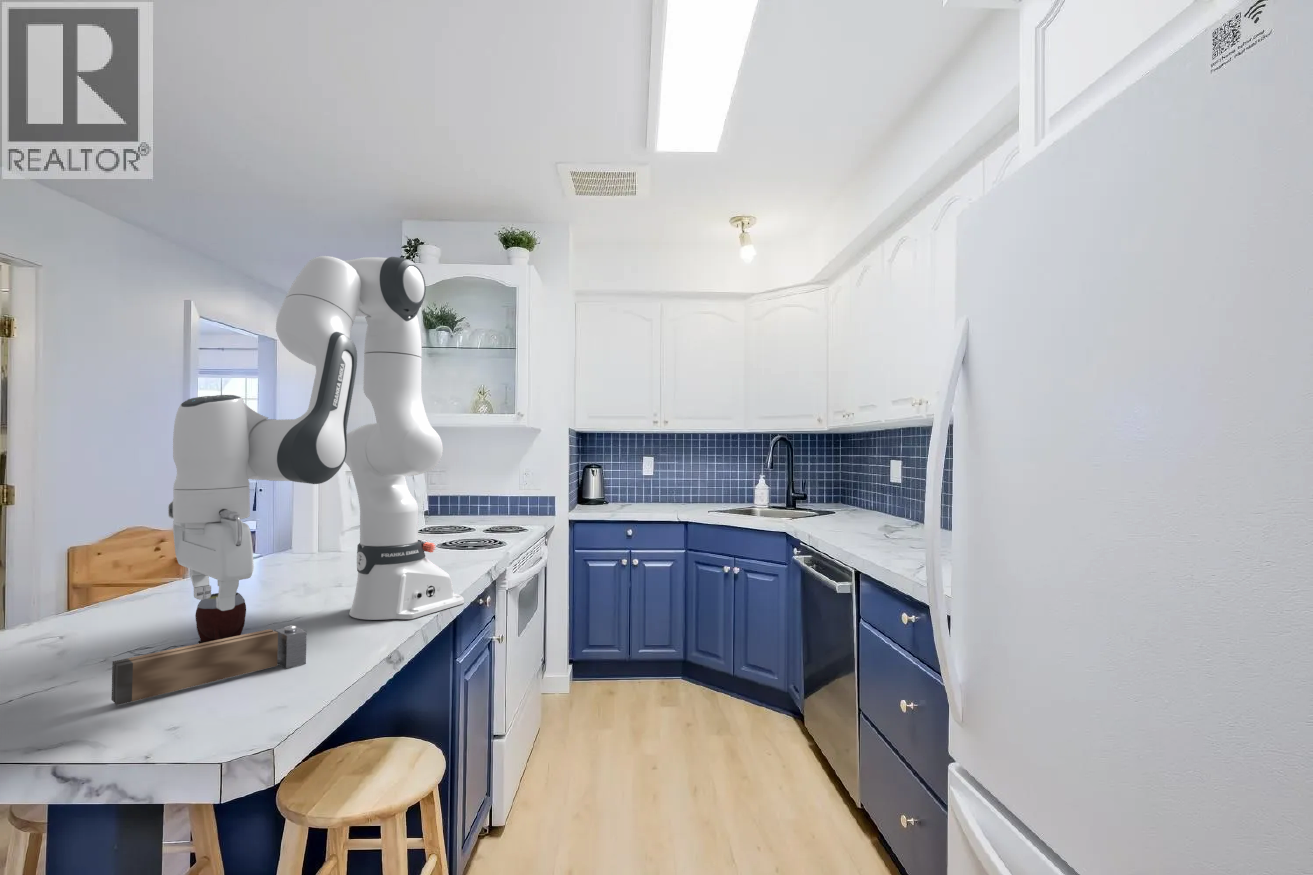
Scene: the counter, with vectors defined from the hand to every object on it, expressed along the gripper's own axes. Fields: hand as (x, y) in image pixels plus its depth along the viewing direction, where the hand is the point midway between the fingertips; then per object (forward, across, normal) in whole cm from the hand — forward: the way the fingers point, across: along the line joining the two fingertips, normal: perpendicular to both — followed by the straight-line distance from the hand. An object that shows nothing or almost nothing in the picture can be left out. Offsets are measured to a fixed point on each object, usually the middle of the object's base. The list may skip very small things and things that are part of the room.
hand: (213, 603), depth 87 cm
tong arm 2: (+11, -1, +2) cm, 11 cm away
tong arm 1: (+11, +1, +2) cm, 11 cm away
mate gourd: (+12, +20, -7) cm, 24 cm away
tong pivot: (+11, 0, -10) cm, 15 cm away
